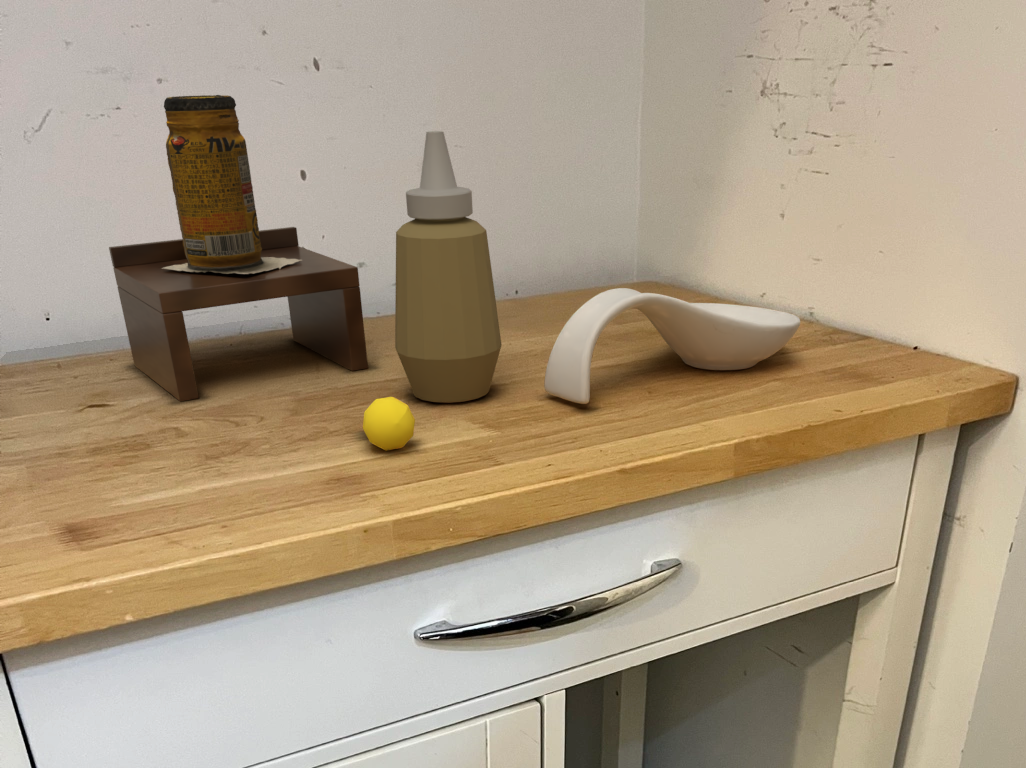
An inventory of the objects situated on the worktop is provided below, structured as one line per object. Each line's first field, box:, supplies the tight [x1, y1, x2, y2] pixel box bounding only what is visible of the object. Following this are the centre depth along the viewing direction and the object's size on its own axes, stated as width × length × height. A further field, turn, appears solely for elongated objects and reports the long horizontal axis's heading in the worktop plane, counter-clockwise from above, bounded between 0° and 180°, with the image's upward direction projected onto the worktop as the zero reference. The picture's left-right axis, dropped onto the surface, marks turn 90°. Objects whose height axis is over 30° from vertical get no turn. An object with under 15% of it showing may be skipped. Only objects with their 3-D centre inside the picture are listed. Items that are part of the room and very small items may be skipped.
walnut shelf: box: [108, 226, 369, 402], centre depth 90 cm, size 16×13×10 cm
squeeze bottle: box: [394, 130, 502, 404], centre depth 80 cm, size 8×8×18 cm
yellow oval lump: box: [362, 396, 416, 452], centre depth 74 cm, size 3×6×4 cm, turn 26°
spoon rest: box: [543, 287, 801, 405], centre depth 86 cm, size 24×12×7 cm, turn 130°
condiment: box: [162, 94, 301, 274], centre depth 85 cm, size 7×8×12 cm
